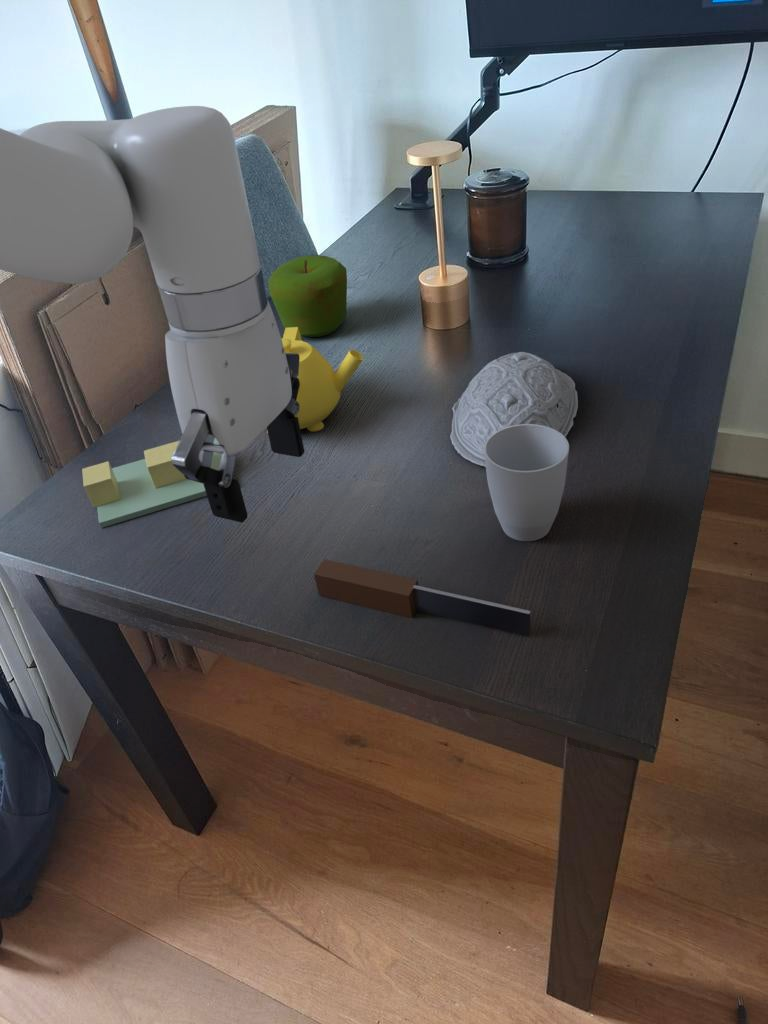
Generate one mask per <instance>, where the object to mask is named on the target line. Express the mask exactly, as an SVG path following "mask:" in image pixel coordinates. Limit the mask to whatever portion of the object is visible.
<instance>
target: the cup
mask: <svg viewBox="0 0 768 1024" xmlns="http://www.w3.org/2000/svg"><path fill="white" fill-rule="evenodd" d="M569 451H570V444H569V441H568V439H567V437H564V436H563V435H562V434H561V433H560V432H558V431H556V430H554V429H552V428H549V427H546V426H542V425H536V424H520V425H513V426H509V427H506V428H503V429H501V430H498V431H497V432H495V433H493V434H492V435H491V436H490V437H489V438H488V439H487V440H486V442H485V445H484V456H485V464H486V467H485V471H486V472H485V473H486V479H487V486H488V487H487V488H488V490H489V494H490V498H491V502H492V506H493V510H494V514H495V516H496V518H497V520H498V523H499V525H500V526H501V529H502V530H503V532H504V534H505V535H506V536H507V537H509V538H510V539H512V540H515V541H521V542H533V541H537V540H540V539H542V538H544V537H545V536H547V535H548V534H549V532H550V530H551V529H552V526H553V524H554V522H555V520H556V517H557V516H558V514H559V510H560V506H561V501H562V499H563V494H564V490H565V486H566V480H567V470H568V461H569Z"/></svg>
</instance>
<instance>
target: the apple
mask: <svg viewBox="0 0 768 1024" xmlns="http://www.w3.org/2000/svg"><path fill="white" fill-rule="evenodd" d="M268 289H269V295H270V298H271V301H272V302H273V305H274V308H275V309H276V312H277V314H278V316H279V320H280V322H281V324H282V326H283V328H284V329H285V328H290V327H298V329H299V332H300V335H301V337H309V338H321V337H324V336H328V335H330V334H331V333H333V332H336V330H337V329H338V328H339V327H340V326H341V325H342V323H343V322H345V320H346V319H347V314H348V313H347V310H348V309H347V308H348V307H347V306H348V305H347V301H348V298H347V296H348V273H347V268H346V267H345V266H344V265H343V264H342V263H341V262H340V261H338V260H337V259H336V258H334V257H331V256H327V255H320V254H319V255H318V254H310V255H302V256H299V257H295V258H293V259H290V260H288V261H286V262H285V263H283V264H281V265H279V266H278V267H277V268H276V269H275V270H274V271H273V272H272V273H271V275H270V276H269V277H268Z"/></svg>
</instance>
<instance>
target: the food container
mask: <svg viewBox="0 0 768 1024" xmlns="http://www.w3.org/2000/svg"><path fill="white" fill-rule="evenodd" d="M578 399H579V396H578V391H577V389H576V383H575V381H574V379H572V377H570V376H569V375H568V374H567V373H565V372H563V371H561V370H560V369H557V368H555V366H554V365H553V364H551V362H549V361H548V360H546V359H543V358H542V357H540V356H538V355H536V354H533V353H529V352H525V351H519V352H511V353H508V354H505V355H502V356H499V357H498V358H496V359H494V360H491V361H490V362H488V363H486V365H485V366H483V367H482V369H480V371H479V372H477V374H475V376H473V378H471V380H470V381H469V383H468V386H467V387H466V389H465V391H463V392H462V394H461V396H460V397H459V398H458V400H457V401H456V402H455V403H454V404H453V406H452V407H451V409H452V412H453V417H452V420H451V422H452V423H451V432H450V436H449V438H450V440H451V444H452V445H453V447H454V449H455V450H456V451H457V453H458V454H459V455H460V456H462V458H464V459H465V460H468V461H470V462H471V463H473V464H476V465H477V466H481V467H483V468H486V464H485V456H484V445H485V442H486V440H487V439H488V438H489V437H490V436H491V435H492V434H493V433H495V432H497V431H498V430H501V429H503V428H506V427H509V426H513V425H520V424H536V425H542V426H546V427H549V428H552V429H554V430H556V431H558V432H560V433H561V434H562V435H563V436H564V437H565V438H567V435H568V434H569V432H570V430H572V429H571V428H572V427H573V426H574V418H575V417H576V416H577V411H578V408H579V400H578Z"/></svg>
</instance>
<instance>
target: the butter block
mask: <svg viewBox="0 0 768 1024" xmlns="http://www.w3.org/2000/svg"><path fill="white" fill-rule="evenodd" d="M179 441H180V439H179V440H176V441H173V442H169V443H166V444H163V445H159V446H156V447H152V448H148V449H145V450H143V454H144V459H145V460H146V464H147V469H148V471H149V474H150V476H151V479H152V481H153V484H154V487H155V488H159V487H162V486H165V485H169V484H172V483H175V482H179V481H182V480H185V479H186V478H185V476H184V474H182V473H181V472H180V471H179V470H178V469H177V468H176V467H175V466H174V465H173V464H172V456H173V454H174V451H175V449H176V447H177V445H178V443H179ZM210 468H211V467H210Z"/></svg>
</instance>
